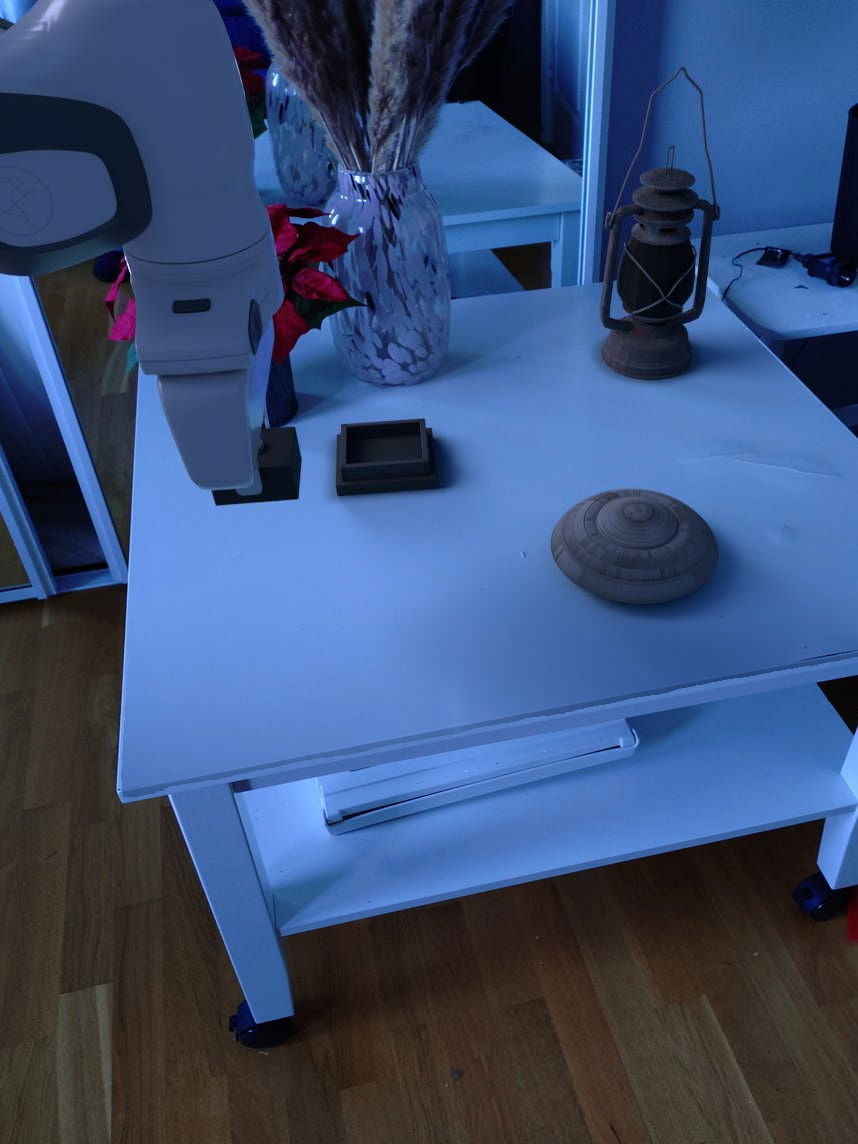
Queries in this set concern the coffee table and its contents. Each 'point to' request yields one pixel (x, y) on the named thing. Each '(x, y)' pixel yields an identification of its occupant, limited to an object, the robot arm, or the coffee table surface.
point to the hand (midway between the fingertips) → (254, 463)
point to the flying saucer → (635, 546)
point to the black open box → (385, 457)
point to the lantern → (657, 269)
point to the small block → (272, 469)
